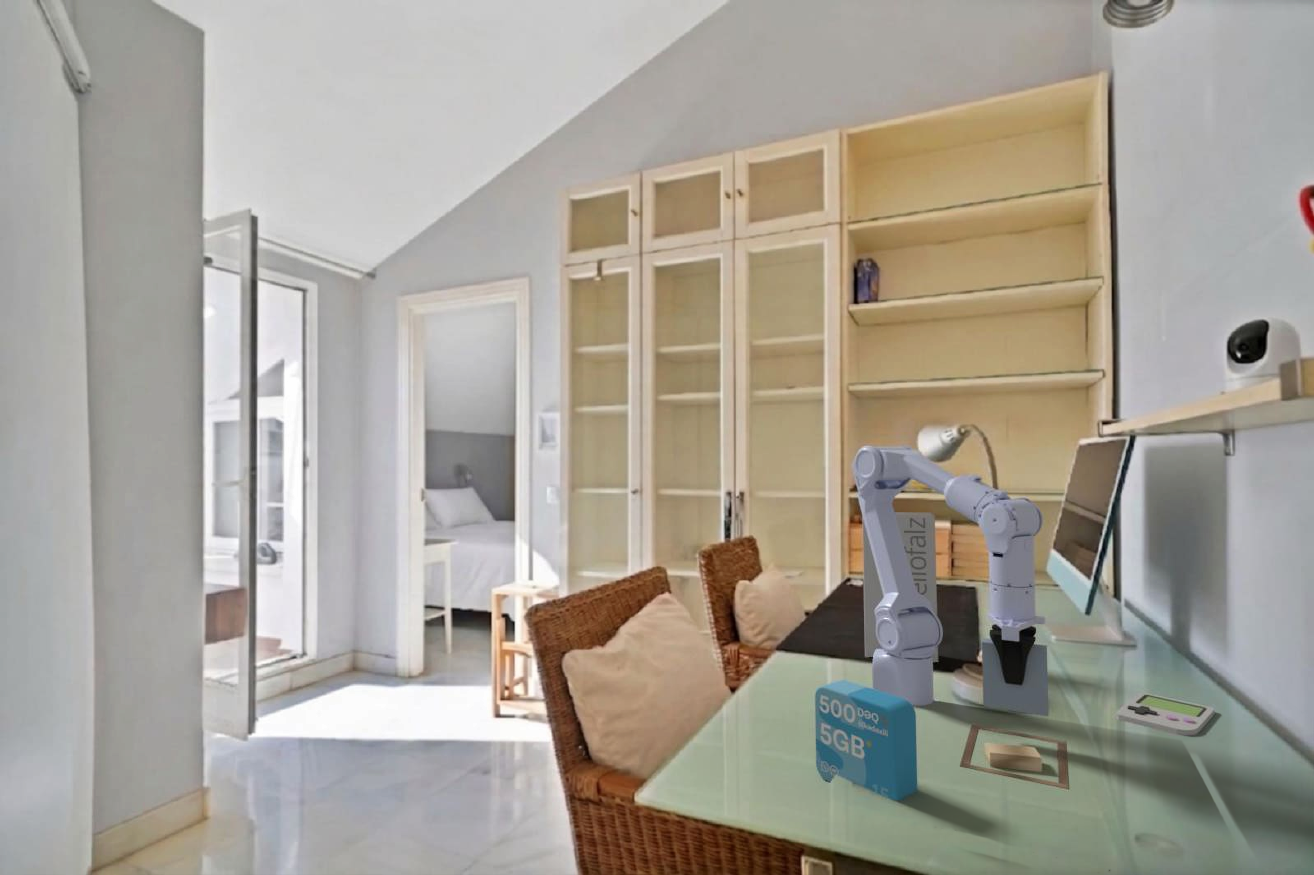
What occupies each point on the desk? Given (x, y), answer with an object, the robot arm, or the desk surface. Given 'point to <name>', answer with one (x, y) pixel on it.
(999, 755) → the upper offcut
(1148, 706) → the handheld gaming console
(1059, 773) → the walnut frame
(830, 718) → the data package
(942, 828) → the desk surface
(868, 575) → the grey lettered box
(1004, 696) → the slate sheet
